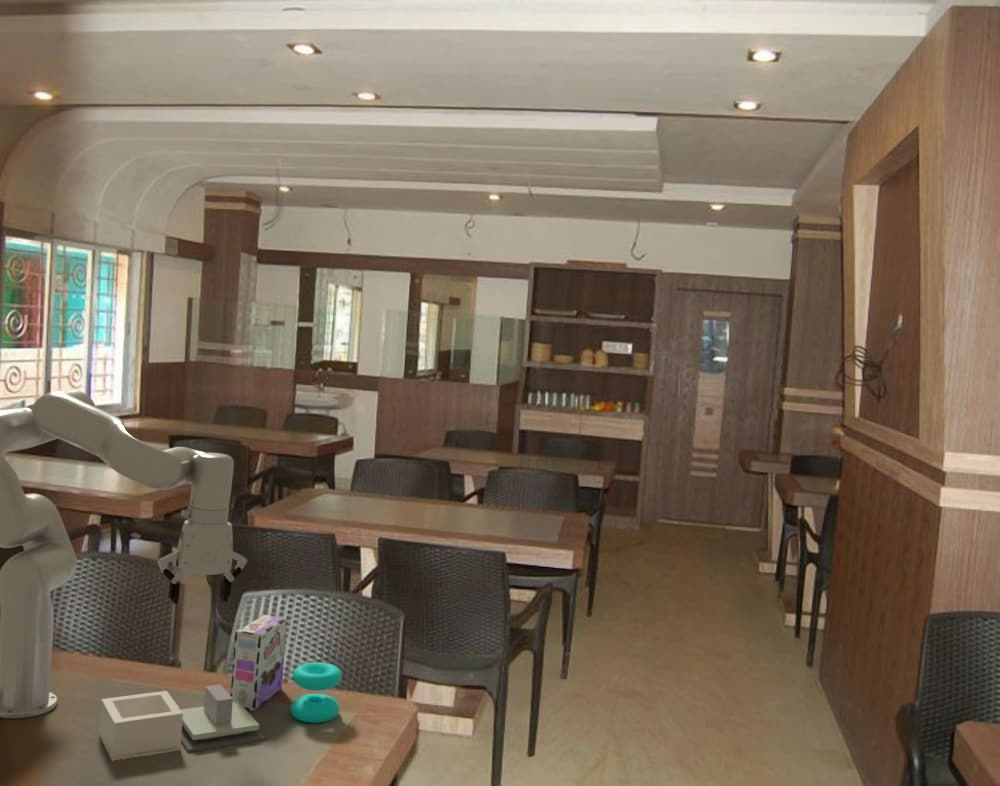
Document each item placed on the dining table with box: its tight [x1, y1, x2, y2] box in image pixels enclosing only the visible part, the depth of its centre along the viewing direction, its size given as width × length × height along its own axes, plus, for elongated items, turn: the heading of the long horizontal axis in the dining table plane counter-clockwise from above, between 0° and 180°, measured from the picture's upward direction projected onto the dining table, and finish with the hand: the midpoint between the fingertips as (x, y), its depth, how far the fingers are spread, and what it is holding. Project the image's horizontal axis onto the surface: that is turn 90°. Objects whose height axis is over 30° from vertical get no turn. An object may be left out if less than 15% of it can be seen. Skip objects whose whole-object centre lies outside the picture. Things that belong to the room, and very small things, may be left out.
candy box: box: [230, 614, 288, 712], centre depth 201 cm, size 14×6×16 cm, turn 168°
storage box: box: [98, 690, 183, 762], centre depth 176 cm, size 12×12×7 cm
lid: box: [180, 684, 260, 740], centre depth 184 cm, size 13×13×7 cm
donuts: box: [290, 661, 343, 724], centre depth 195 cm, size 10×10×10 cm
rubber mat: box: [181, 725, 268, 753], centre depth 184 cm, size 15×15×1 cm
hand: (199, 600), depth 185 cm, fingers open, 9 cm apart
